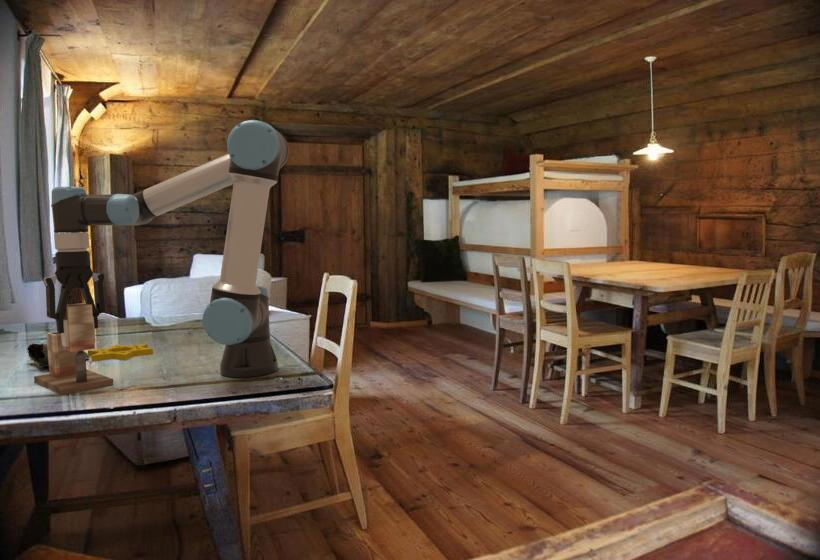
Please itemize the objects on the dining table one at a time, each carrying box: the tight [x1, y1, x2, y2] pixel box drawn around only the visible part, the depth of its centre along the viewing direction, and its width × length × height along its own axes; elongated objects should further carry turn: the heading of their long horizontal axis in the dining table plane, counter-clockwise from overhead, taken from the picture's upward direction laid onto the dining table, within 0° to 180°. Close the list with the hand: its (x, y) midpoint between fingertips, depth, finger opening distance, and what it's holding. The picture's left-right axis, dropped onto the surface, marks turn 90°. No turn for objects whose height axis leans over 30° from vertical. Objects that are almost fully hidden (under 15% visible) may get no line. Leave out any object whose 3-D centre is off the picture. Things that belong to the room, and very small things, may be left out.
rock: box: [26, 343, 91, 367], centre depth 186 cm, size 18×10×15 cm
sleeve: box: [63, 302, 96, 352], centre depth 157 cm, size 5×5×11 cm
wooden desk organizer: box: [33, 331, 114, 396], centre depth 162 cm, size 20×12×12 cm, turn 47°
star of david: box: [87, 343, 154, 362], centre depth 198 cm, size 20×17×2 cm
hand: (78, 343), depth 158 cm, fingers closed on sleeve, 5 cm apart
